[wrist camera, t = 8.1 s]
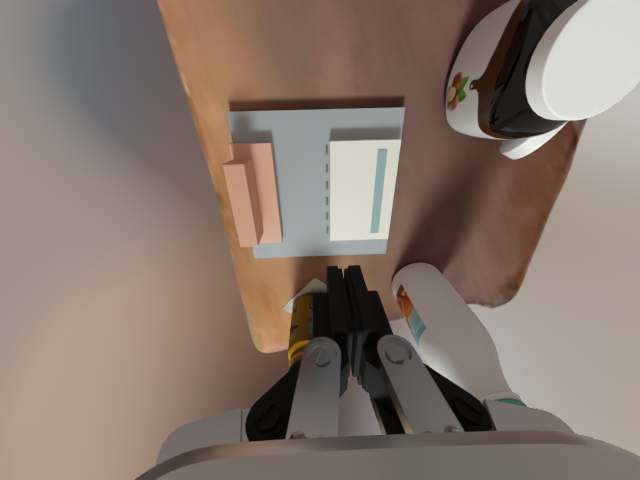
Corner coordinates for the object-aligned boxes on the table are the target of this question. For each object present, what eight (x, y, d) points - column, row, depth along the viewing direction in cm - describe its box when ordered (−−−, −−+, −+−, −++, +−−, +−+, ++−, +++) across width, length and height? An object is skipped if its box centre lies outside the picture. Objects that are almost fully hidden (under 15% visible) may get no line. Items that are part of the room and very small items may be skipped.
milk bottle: (402, 256, 34) (499, 405, 16) (448, 265, 35) (585, 414, 18) (383, 294, 38) (446, 451, 20) (425, 302, 39) (520, 457, 21)
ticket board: (230, 111, 24) (222, 111, 22) (401, 107, 25) (410, 106, 23) (256, 254, 33) (252, 263, 31) (383, 249, 33) (388, 258, 31)
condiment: (282, 307, 38) (270, 380, 28) (314, 276, 35) (316, 344, 25) (315, 326, 41) (316, 400, 30) (348, 299, 38) (362, 369, 27)
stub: (231, 143, 25) (216, 148, 21) (271, 142, 25) (264, 146, 21) (249, 240, 30) (241, 258, 27) (282, 239, 31) (278, 256, 27)
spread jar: (460, 15, 21) (596, -79, 11) (572, 25, 22) (798, -54, 12) (425, 151, 27) (494, 171, 17) (515, 156, 28) (634, 179, 18)
